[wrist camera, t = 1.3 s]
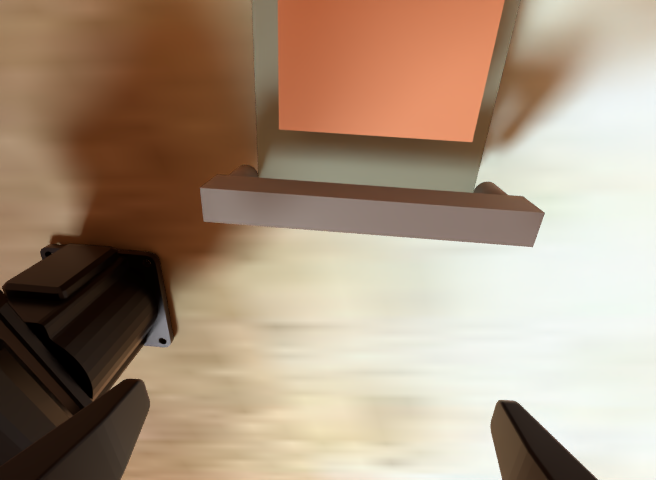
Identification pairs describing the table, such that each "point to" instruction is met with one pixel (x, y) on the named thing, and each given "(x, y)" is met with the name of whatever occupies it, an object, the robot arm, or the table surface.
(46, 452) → the robot arm
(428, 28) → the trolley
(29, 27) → the table surface
